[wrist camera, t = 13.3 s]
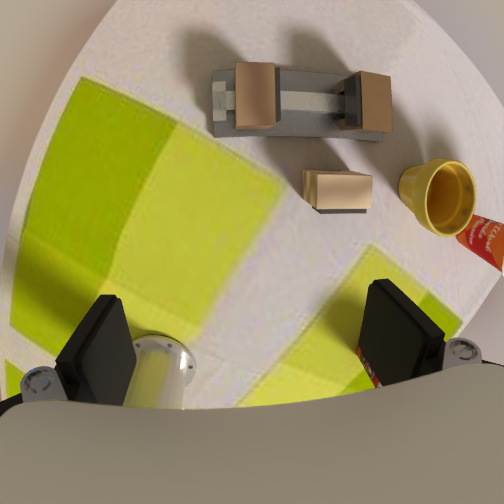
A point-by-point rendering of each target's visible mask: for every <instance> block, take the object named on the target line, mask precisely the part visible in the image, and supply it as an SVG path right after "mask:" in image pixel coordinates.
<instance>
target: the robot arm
mask: <svg viewBox="0 0 504 504" xmlns="http://www.w3.org/2000/svg"><path fill="white" fill-rule="evenodd" d="M444 336H445V333H444V332H443V331H442V330H441V329H440V328H439V327H438V326H437V325H436V324H435V323H434V322H433V321H432V320H431V319H430V318H429V317H428V316H427V315H426V314H425V313H424V312H423V311H422V310H421V309H420V308H419V307H418V306H417V305H416V304H415V303H414V302H413V301H412V300H411V299H410V298H409V297H408V296H406V295H405V294H404V293H403V292H402V291H401V290H400V289H399V288H398V287H397V286H396V285H395V284H394V283H393V282H391V281H390V280H389V279H379V280H374V281H373V283H372V284H370V285H369V287H368V293H367V299H366V305H365V311H364V317H363V322H362V327H361V332H360V337H359V348H360V350H361V352H362V353H363V355H364V357H365V358H366V360H367V362H368V363H369V365H370V367H371V368H372V370H373V372H374V373H375V375H376V377H377V378H378V380H379V382H380V384H381V385H382V387H378V388H373V389H369V390H364V391H360V392H355V393H350V394H344V395H339V396H333V397H328V398H321V399H315V400H308V401H301V402H293V403H285V404H275V405H265V406H253V407H238V408H214V409H182V402H183V394H184V387H185V386H187V385H188V384H189V383H190V382H191V381H192V380H193V378H194V376H195V370H196V365H195V361H194V358H193V356H192V354H191V353H190V352H189V351H188V349H187V348H186V347H184V346H183V345H182V344H180V343H179V342H177V341H175V340H173V339H171V338H168V337H164V336H160V335H146V336H142V337H139V338H137V339H135V340H134V341H133V342H132V339H131V336H130V332H129V328H128V325H127V321H126V317H125V313H124V309H123V305H122V301H121V299H120V298H117V297H116V295H100V296H99V297H98V299H97V300H96V301H95V303H94V304H93V305H92V307H91V308H90V310H89V311H88V312H87V314H86V315H85V317H84V318H83V320H82V321H81V322H80V324H79V325H78V327H77V328H76V330H75V331H74V333H73V334H72V336H71V337H70V339H69V340H68V342H67V343H66V345H65V346H64V348H63V349H62V351H61V352H60V354H59V355H58V357H57V359H56V360H55V361H56V366H55V368H54V369H53V368H51V367H47V366H41V367H37V368H34V369H32V370H30V371H29V372H28V373H26V374H25V375H24V377H23V378H22V380H21V383H20V389H21V393H19V394H17V395H15V396H13V397H10V398H8V399H6V400H4V401H1V402H0V504H504V366H503V365H500V364H496V363H492V362H488V361H484V360H482V355H481V350H480V348H479V347H478V346H477V345H476V344H475V343H474V342H472V341H470V340H468V339H464V338H452V339H450V340H448V341H447V342H445V341H444V340H443V339H444Z"/></svg>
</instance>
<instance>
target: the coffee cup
mask: <svg viewBox="0 0 504 504" xmlns="http://www.w3.org/2000/svg"><path fill="white" fill-rule="evenodd" d="M456 238H457V240H458V242H459V243H461V244H462V245H463V246H465V247H466V248H468V249H469V250H471V251H472V252H474V253H475V254H477V255H478V256H479V257H481V258H482V259H484V260H485V261H487V262H488V263H490V264H491V265H492V266H494V267H495V268H497V269H498V270H499V271H501V272H502V273H503V276H504V224H502V223H499V222H496V221H493V220H490V219H487V218H484V217H481V216H477V215H474V214H473V215H472V217H471V219H470V221H469V223H468V225H467V226H466V227H465V228H464V229H463V230H462V231H461V232H460V233H458V234H457V235H456Z"/></svg>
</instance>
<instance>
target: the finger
mask: <svg viewBox="0 0 504 504" xmlns="http://www.w3.org/2000/svg"><path fill="white" fill-rule="evenodd" d="M234 89H235V129H268V128H270V127H272V126H274V125H276V123H277V122H279V121H281V95H280V68H274V63H261V62H236V65H235V73H234Z"/></svg>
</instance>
